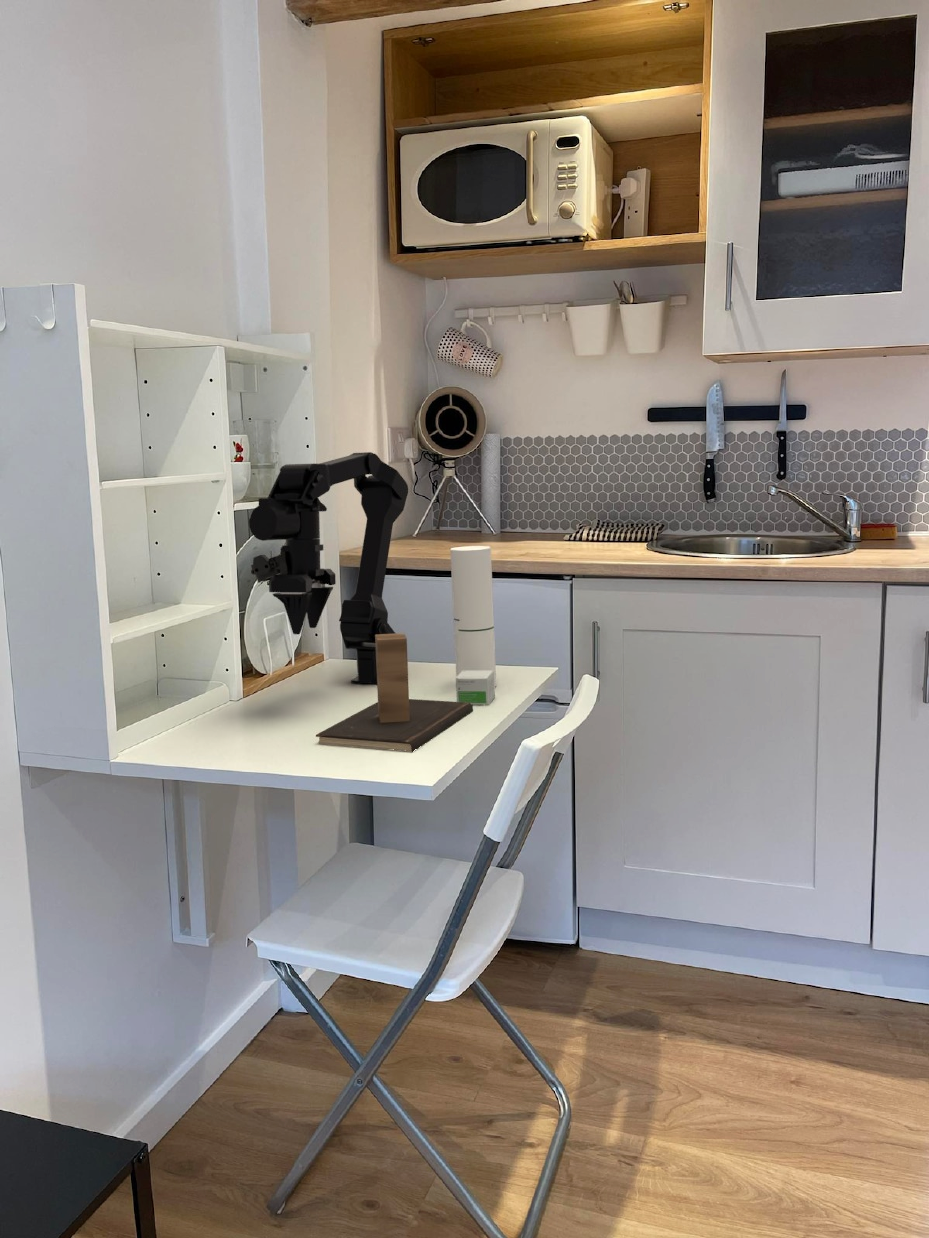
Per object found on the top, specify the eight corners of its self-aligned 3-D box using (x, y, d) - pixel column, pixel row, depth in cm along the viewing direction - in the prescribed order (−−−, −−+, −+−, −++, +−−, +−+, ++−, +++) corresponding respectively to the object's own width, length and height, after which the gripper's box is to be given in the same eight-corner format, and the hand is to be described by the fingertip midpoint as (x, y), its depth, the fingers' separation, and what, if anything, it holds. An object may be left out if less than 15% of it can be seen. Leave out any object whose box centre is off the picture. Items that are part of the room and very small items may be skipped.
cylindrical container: (482, 679, 190) (477, 545, 185) (503, 686, 184) (498, 547, 179) (449, 685, 186) (442, 548, 182) (469, 693, 180) (463, 551, 176)
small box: (456, 705, 173) (454, 677, 172) (463, 697, 178) (462, 669, 177) (489, 706, 171) (488, 677, 170) (495, 697, 177) (494, 669, 176)
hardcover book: (316, 749, 154) (315, 734, 153) (386, 710, 175) (385, 697, 174) (413, 757, 148) (412, 741, 147) (473, 716, 168) (472, 702, 168)
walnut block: (378, 715, 162) (375, 634, 160) (406, 713, 163) (403, 633, 161) (380, 722, 158) (377, 640, 155) (409, 721, 158) (406, 638, 156)
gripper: (274, 537, 183) (277, 624, 185) (236, 540, 165) (239, 637, 166) (335, 537, 182) (337, 625, 183) (303, 540, 163) (306, 638, 165)
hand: (304, 630), depth 174 cm, fingers open, 9 cm apart
